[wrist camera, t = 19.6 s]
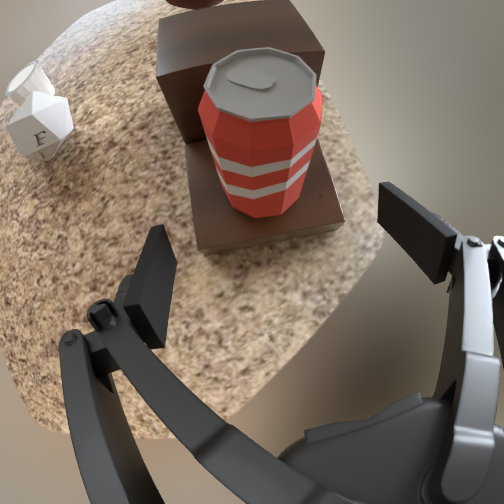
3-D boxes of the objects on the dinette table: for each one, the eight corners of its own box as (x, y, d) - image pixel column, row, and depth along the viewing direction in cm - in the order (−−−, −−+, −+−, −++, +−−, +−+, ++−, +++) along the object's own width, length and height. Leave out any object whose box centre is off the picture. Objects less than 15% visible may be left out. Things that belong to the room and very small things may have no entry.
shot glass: (24, 125, 30) (0, 103, 23) (30, 98, 31) (10, 76, 24) (55, 103, 30) (32, 77, 23) (60, 78, 31) (41, 53, 24)
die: (28, 175, 28) (5, 166, 19) (18, 120, 25) (-3, 97, 17) (80, 153, 32) (72, 135, 23) (69, 98, 29) (62, 68, 20)
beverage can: (245, 142, 24) (233, 33, 12) (312, 172, 23) (346, 67, 11) (209, 198, 23) (166, 102, 11) (280, 233, 22) (299, 151, 10)
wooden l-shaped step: (183, 90, 28) (159, 18, 18) (283, 72, 28) (288, -2, 18) (204, 256, 24) (160, 215, 14) (337, 229, 24) (386, 174, 14)
